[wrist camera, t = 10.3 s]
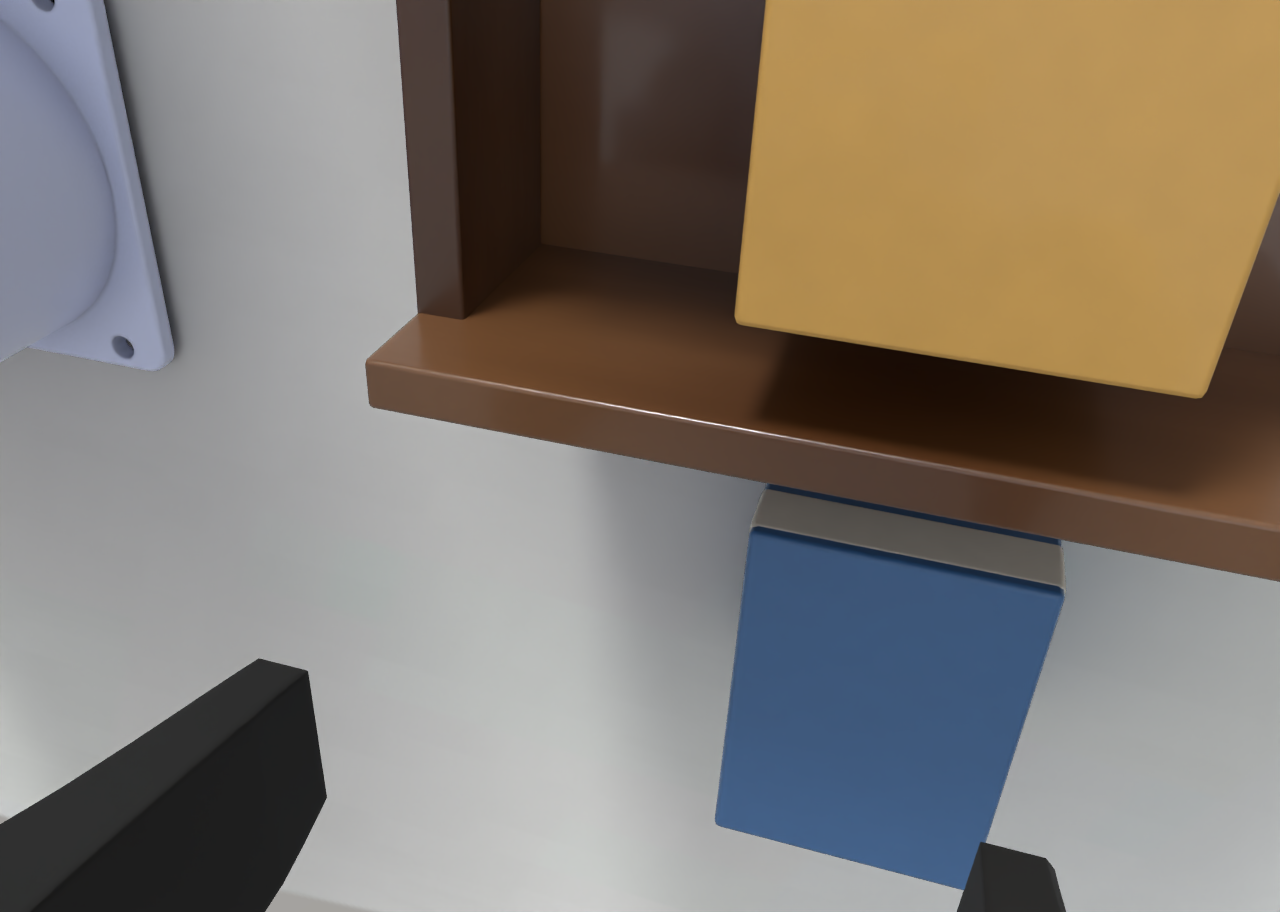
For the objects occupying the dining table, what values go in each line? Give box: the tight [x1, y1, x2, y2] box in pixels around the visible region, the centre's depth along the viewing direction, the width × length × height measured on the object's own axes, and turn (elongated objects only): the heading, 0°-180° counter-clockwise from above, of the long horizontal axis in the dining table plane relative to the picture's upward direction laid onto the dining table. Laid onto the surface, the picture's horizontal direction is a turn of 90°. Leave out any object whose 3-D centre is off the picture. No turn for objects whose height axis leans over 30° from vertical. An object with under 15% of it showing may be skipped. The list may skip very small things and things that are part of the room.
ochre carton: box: [734, 0, 1280, 399], centre depth 12 cm, size 5×6×5 cm
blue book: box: [715, 483, 1066, 890], centre depth 19 cm, size 4×6×5 cm
